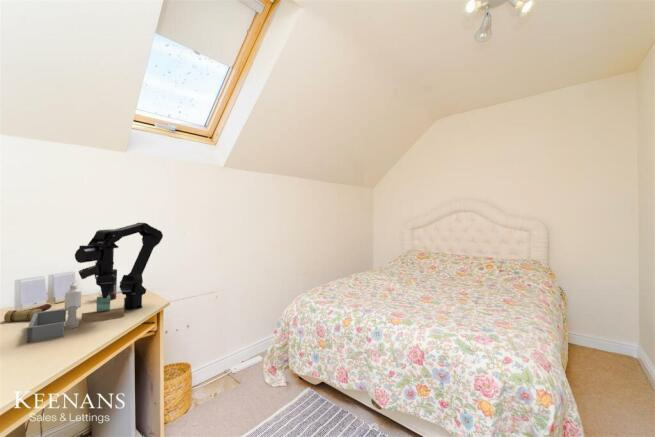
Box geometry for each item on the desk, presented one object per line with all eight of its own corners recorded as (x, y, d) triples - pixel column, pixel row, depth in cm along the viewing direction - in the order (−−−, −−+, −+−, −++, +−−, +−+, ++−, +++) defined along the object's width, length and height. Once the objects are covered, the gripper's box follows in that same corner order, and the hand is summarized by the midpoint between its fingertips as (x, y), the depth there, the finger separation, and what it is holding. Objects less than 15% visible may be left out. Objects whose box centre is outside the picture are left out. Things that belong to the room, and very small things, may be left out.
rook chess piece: (70, 324, 115) (70, 304, 115) (82, 324, 115) (82, 304, 115) (60, 329, 110) (61, 308, 110) (73, 329, 111) (73, 308, 111)
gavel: (38, 300, 134) (64, 299, 137) (37, 310, 134) (64, 309, 137) (4, 312, 114) (36, 310, 117) (3, 323, 114) (35, 322, 117)
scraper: (81, 320, 121) (82, 298, 121) (122, 313, 130) (123, 293, 130) (81, 323, 117) (82, 301, 117) (123, 317, 126) (124, 296, 126)
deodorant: (104, 297, 152) (105, 269, 152) (117, 297, 154) (118, 268, 154) (99, 300, 146) (100, 271, 146) (113, 300, 148) (114, 271, 148)
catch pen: (65, 320, 119) (65, 308, 119) (63, 336, 104) (64, 322, 104) (33, 325, 113) (34, 312, 113) (26, 343, 98) (27, 328, 98)
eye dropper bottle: (67, 306, 135) (68, 281, 135) (82, 305, 138) (83, 280, 138) (63, 309, 131) (63, 283, 131) (78, 308, 134) (79, 282, 134)
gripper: (80, 257, 126) (79, 293, 126) (80, 264, 111) (79, 304, 112) (112, 256, 133) (111, 290, 133) (116, 262, 119) (114, 299, 119)
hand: (104, 295), depth 124 cm, fingers open, 9 cm apart
